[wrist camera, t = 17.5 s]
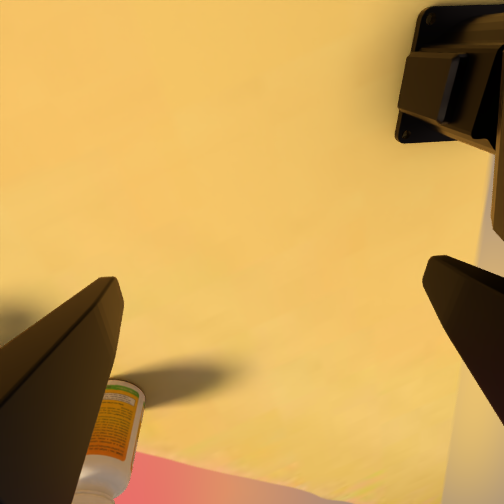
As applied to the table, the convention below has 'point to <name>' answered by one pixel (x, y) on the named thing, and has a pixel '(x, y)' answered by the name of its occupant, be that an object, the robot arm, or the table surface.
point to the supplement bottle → (111, 445)
